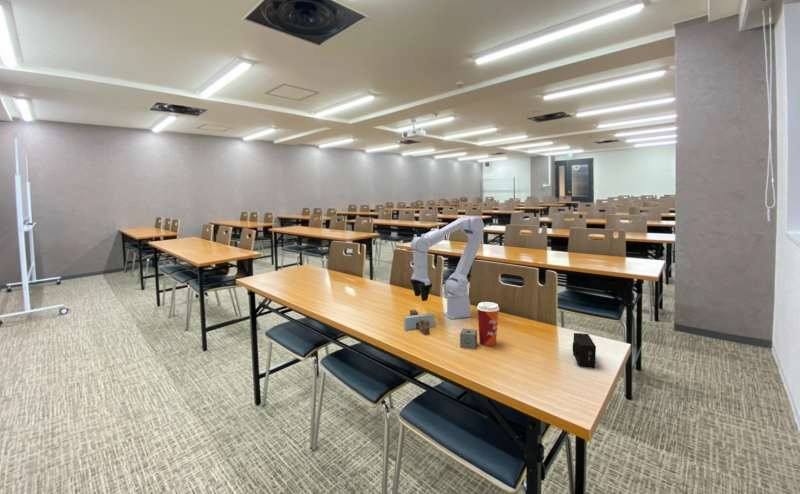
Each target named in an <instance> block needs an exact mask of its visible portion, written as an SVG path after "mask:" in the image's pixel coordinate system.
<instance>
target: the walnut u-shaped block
mask: <svg viewBox="0 0 800 494" xmlns="http://www.w3.org/2000/svg"><path fill="white" fill-rule="evenodd" d="M409 314H410V315H409V316H413V315H419V312H418V311H417V310H416V309H410V310H409ZM416 329H418V330H419V332H421V333H422V334H423V335H424V336H428V335H430V327H429V321H428V320H427V319H426V318H424V319H421V322H418V323H416Z"/></svg>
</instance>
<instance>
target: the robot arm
mask: <svg viewBox="0 0 800 494" xmlns="http://www.w3.org/2000/svg"><path fill="white" fill-rule="evenodd" d="M484 228H485V223H484V221H483V219H482V218H481V217H480V216H472V215H471V216H470V215H463V216H461V217H458V218H457V219H456V220H454V221H452V222H451V223H449V224H446V226H444V227H441V228H434V227H433V228H431V229H430V231H428V232H426V233H422V234H421V235H420V236H415V237H414V238H413V239H412V240H411V243H410V247H411V249H412V251H413V254H412V255H413V256H412V257H413V261H412V262H413V273H411V274H412V275H411V277H410V280H409V282H410V284H411V286H412V290H413V293H414V296H415V297H421V301H422V302H426V301H428V299H429V294H430V290H431V289H432V287H433V283H431V280H430V279H429V275H428V251H429V250H430V248H432V246H434V245H436V244H438V243H441V242H442V241H443V240H444V237H446V236H448V235H451V234H452V233H455V232H457V231H459V230H462V231H463V232H464V234H466V236H467V239H468V240H467V242H466V245H465V247H464V249H463V252H462V254H461V256H460V259H459V260H458V263H457V266H456V269H455V271H454V272H453V273H452V274H450V276H449V277H448V278H447V280H446V281H445V282H444V284H443V285H444V287H443V288H444V290H445V291H446V312H443V315H445V316H447V317H448V319H451V320H455V319H461V318H470V317H471V316H472V315H471V300H470V297H469V295H468V294H467V291H468V285H469V281H468V278H467V277H468V274H469V272H470V270H471V267H472V265H473V263H474V260H475V258H476V256H477V253H478V251H479V248H480V246H481V244H482V241H483V235H484V234H483V230H484Z"/></svg>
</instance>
